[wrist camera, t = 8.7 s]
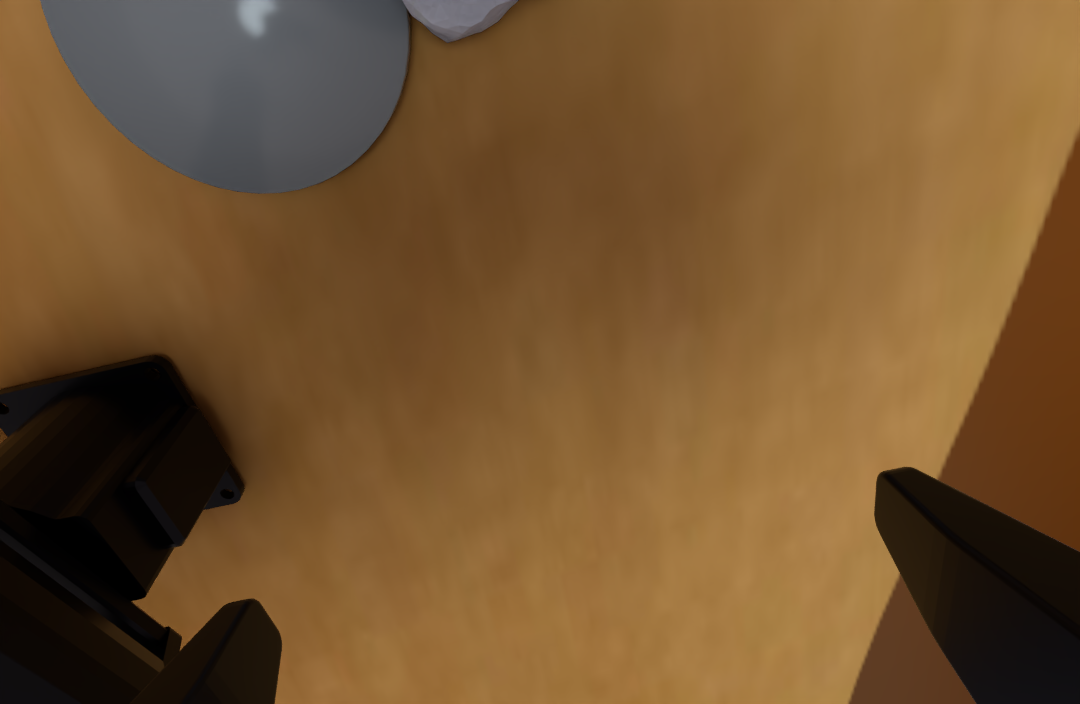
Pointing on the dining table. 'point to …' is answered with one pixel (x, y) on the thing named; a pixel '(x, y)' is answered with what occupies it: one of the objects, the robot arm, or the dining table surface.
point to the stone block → (457, 15)
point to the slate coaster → (240, 81)
